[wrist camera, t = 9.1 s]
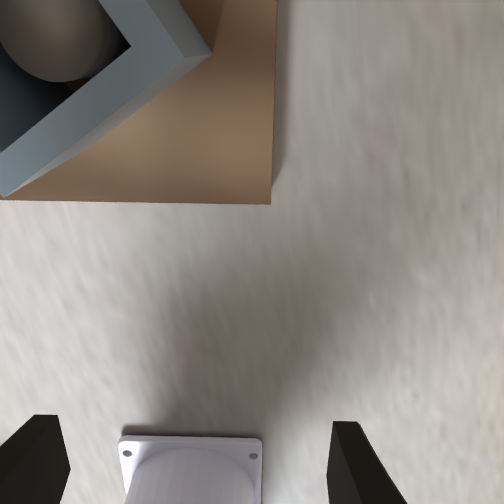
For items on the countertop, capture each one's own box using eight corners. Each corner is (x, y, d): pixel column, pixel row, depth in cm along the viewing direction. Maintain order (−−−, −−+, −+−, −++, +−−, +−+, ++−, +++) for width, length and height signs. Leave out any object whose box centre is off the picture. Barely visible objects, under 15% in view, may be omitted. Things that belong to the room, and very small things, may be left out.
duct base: (269, 192, 18) (273, 240, 14) (-15, 188, 18) (-104, 234, 14) (281, -190, 13) (292, -315, 9) (-113, -193, 13) (-306, -317, 9)
